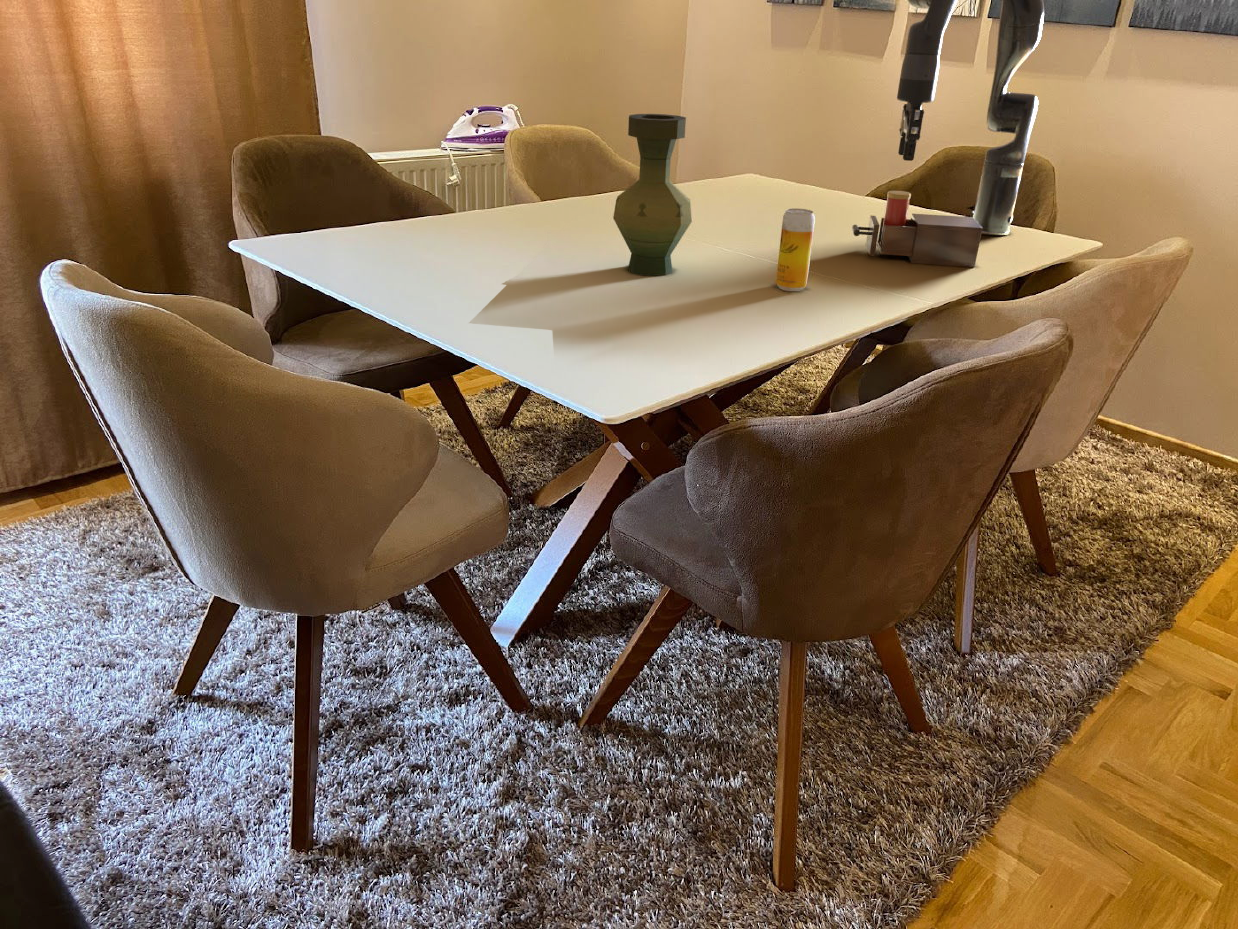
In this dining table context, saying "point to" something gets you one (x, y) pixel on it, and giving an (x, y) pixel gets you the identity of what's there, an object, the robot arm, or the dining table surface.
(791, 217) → the beer can
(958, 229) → the cabinet
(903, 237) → the drawer
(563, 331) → the dining table surface
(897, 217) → the tea tin
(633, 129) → the vase
